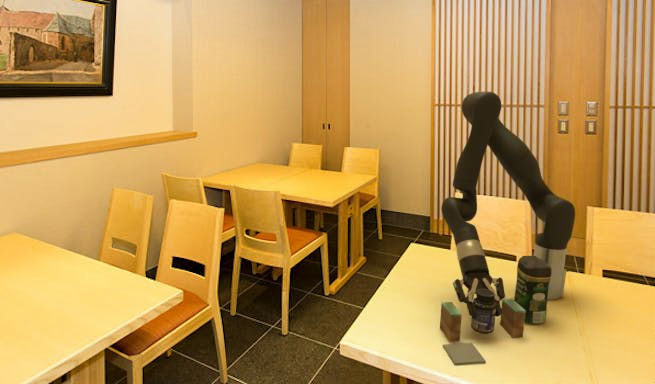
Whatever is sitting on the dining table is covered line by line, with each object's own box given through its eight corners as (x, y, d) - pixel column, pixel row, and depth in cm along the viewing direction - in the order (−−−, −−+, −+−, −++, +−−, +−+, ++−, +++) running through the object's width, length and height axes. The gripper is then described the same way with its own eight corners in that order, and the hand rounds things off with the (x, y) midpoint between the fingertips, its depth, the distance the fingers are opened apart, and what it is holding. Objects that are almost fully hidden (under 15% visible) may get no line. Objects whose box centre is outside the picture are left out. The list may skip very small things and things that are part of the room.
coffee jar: (508, 309, 133) (514, 253, 129) (533, 309, 133) (540, 253, 129) (522, 326, 124) (529, 265, 120) (549, 326, 124) (557, 265, 120)
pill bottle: (495, 336, 116) (499, 298, 113) (471, 333, 117) (475, 296, 114) (492, 324, 121) (495, 288, 119) (469, 321, 123) (472, 286, 120)
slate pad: (471, 344, 115) (471, 342, 115) (485, 363, 107) (485, 361, 107) (442, 346, 114) (442, 344, 114) (454, 365, 106) (454, 363, 106)
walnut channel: (509, 323, 125) (512, 298, 123) (522, 337, 118) (525, 310, 116) (439, 327, 123) (441, 302, 121) (449, 341, 116) (451, 314, 114)
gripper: (451, 254, 121) (465, 313, 112) (500, 252, 122) (518, 311, 114) (443, 264, 127) (456, 321, 119) (490, 262, 129) (506, 318, 120)
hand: (486, 316), depth 116 cm, fingers closed on pill bottle, 6 cm apart
